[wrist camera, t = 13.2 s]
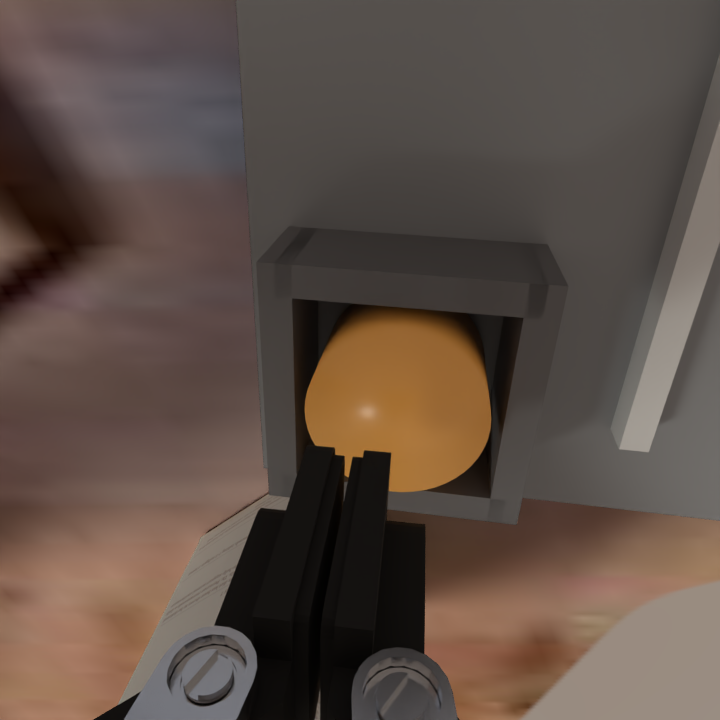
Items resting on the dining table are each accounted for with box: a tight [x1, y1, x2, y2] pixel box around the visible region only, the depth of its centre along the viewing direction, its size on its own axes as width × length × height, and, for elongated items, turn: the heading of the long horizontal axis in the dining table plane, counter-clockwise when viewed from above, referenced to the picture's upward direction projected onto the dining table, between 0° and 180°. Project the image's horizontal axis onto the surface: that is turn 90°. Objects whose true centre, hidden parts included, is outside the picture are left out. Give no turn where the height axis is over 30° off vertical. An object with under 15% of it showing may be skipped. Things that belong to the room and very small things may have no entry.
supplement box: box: [118, 494, 320, 720], centre depth 20 cm, size 7×7×13 cm
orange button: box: [305, 304, 491, 492], centre depth 15 cm, size 4×4×3 cm
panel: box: [236, 0, 720, 525], centre depth 13 cm, size 25×18×6 cm
